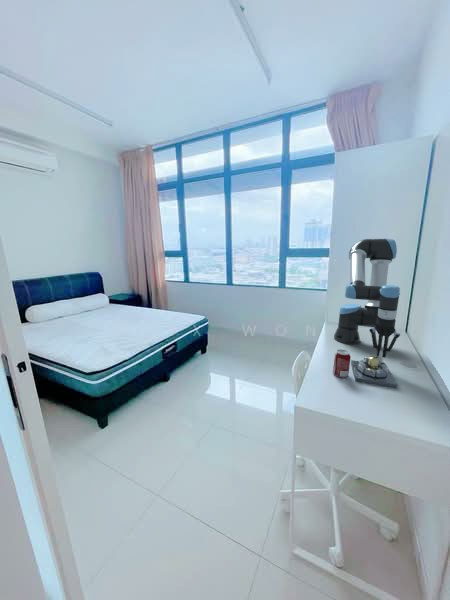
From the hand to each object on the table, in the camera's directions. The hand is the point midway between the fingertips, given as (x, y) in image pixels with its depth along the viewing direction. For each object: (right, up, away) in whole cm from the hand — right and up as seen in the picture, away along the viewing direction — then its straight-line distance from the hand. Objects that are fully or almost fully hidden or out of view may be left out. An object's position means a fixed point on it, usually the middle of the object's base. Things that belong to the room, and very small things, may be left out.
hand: (380, 362), depth 123 cm
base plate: (-8, -5, -5) cm, 10 cm away
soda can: (-23, -5, -5) cm, 24 cm away
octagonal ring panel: (-5, -2, -3) cm, 7 cm away
